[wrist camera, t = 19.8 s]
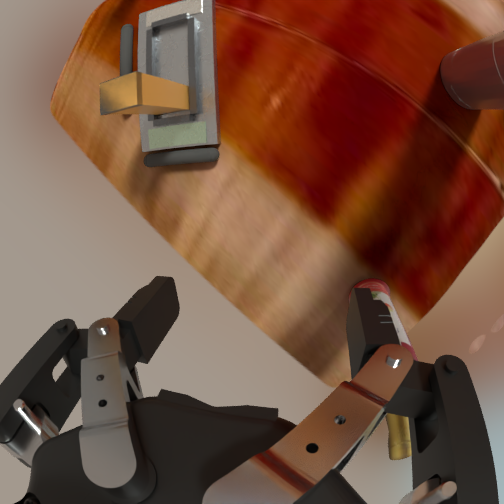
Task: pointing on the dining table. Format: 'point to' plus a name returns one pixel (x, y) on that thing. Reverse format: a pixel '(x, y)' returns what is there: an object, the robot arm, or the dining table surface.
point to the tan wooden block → (142, 95)
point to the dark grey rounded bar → (182, 157)
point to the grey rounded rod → (126, 49)
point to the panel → (181, 72)
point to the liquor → (400, 424)
